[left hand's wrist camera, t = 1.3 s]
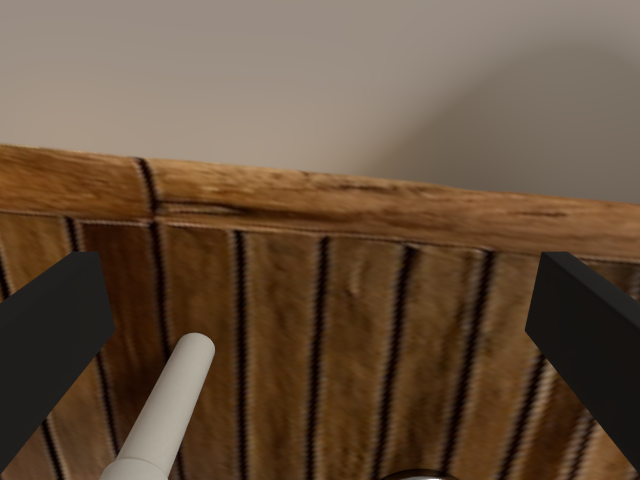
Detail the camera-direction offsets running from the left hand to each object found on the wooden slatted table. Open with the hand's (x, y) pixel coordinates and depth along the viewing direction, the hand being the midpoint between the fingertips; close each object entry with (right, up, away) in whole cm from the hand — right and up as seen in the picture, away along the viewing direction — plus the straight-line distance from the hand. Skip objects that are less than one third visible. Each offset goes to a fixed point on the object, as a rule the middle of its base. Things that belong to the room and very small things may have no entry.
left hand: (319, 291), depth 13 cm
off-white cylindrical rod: (-14, -11, +34) cm, 39 cm away
